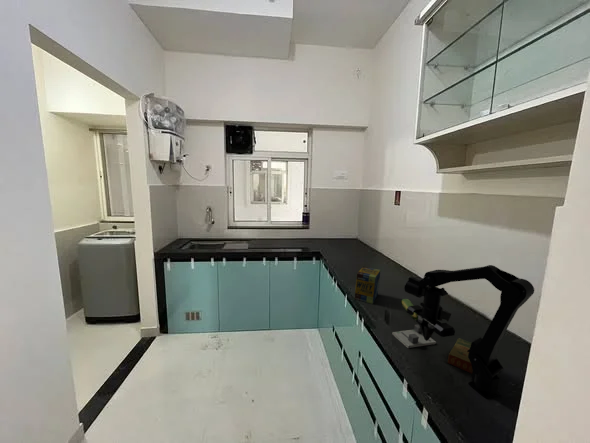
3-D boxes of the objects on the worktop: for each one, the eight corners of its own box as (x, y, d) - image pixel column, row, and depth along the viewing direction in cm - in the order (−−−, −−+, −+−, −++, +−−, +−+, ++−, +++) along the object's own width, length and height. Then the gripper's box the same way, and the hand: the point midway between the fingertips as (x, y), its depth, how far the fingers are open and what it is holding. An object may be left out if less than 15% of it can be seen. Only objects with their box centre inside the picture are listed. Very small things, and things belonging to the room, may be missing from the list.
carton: (446, 363, 101) (448, 353, 100) (456, 346, 113) (458, 336, 112) (472, 375, 96) (474, 364, 95) (480, 355, 107) (481, 345, 107)
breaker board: (435, 343, 113) (435, 341, 113) (407, 348, 109) (408, 345, 109) (418, 330, 122) (418, 328, 122) (392, 334, 118) (392, 332, 118)
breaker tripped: (418, 343, 110) (419, 337, 110) (412, 343, 110) (413, 338, 109) (413, 338, 113) (414, 333, 113) (407, 339, 113) (408, 333, 112)
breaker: (423, 332, 118) (424, 327, 118) (418, 333, 118) (419, 328, 117) (418, 328, 122) (419, 323, 121) (413, 329, 121) (413, 324, 120)
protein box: (354, 299, 152) (356, 273, 149) (360, 290, 165) (363, 266, 163) (372, 304, 147) (375, 277, 145) (378, 294, 160) (380, 269, 158)
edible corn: (409, 298, 148) (402, 295, 148) (426, 317, 128) (417, 314, 128) (405, 306, 149) (398, 303, 149) (421, 326, 129) (413, 323, 129)
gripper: (469, 312, 96) (463, 352, 98) (430, 291, 113) (425, 325, 116) (445, 315, 93) (438, 356, 95) (408, 292, 110) (403, 328, 113)
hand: (426, 340), depth 105 cm, fingers closed
